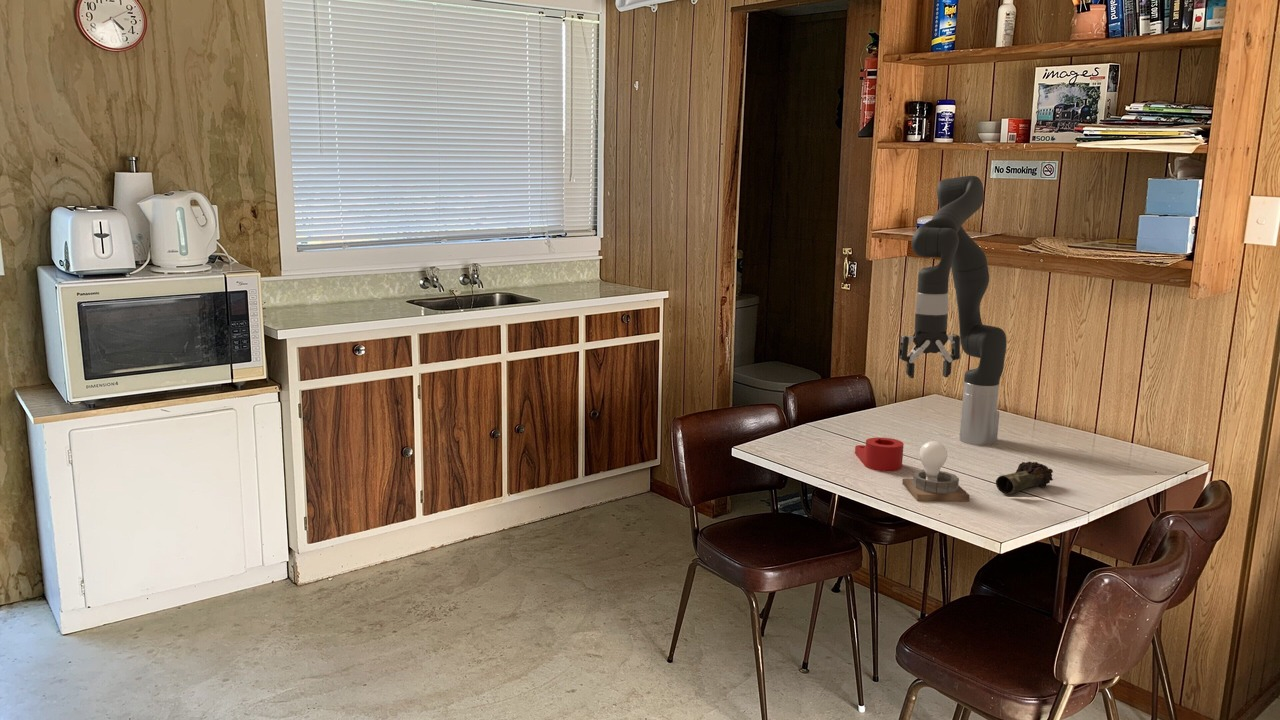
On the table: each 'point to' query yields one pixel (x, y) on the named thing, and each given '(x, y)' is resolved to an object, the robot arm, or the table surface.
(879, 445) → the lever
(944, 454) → the lightbulb
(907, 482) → the socket board
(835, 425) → the table surface
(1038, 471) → the vacuum brush nozzle
